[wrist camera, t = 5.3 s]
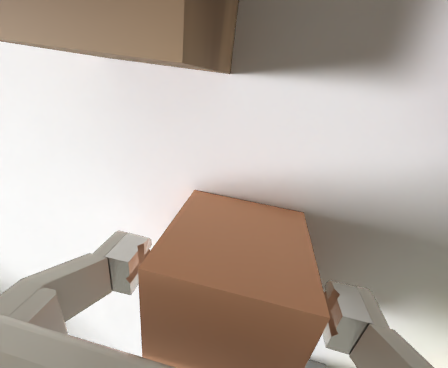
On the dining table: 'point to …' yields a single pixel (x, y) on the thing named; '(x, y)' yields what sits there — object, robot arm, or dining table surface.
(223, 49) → the walnut block
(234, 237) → the terracotta block
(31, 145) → the dining table surface
